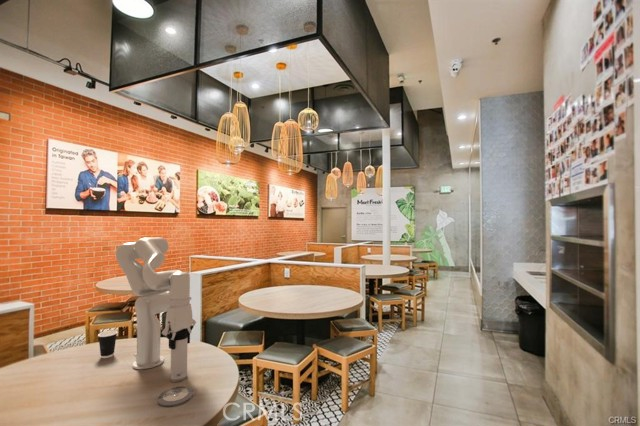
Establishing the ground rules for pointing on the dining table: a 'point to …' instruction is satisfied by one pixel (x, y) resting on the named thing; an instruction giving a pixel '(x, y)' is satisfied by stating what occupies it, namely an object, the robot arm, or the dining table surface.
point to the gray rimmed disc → (175, 396)
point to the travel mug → (179, 357)
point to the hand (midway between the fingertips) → (179, 345)
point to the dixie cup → (107, 343)
